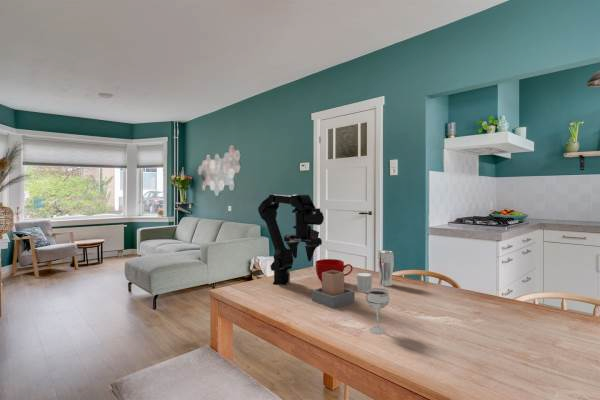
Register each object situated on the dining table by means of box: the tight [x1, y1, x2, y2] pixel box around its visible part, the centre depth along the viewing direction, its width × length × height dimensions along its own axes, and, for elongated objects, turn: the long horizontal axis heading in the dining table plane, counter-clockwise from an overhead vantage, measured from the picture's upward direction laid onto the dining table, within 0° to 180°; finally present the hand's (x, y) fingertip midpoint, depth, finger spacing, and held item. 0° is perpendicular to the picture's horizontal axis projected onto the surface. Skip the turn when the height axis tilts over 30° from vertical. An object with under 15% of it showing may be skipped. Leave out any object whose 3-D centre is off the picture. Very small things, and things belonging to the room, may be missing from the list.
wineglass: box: [365, 287, 390, 335], centre depth 101 cm, size 7×7×12 cm
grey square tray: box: [311, 287, 356, 309], centre depth 128 cm, size 12×12×4 cm
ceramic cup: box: [315, 258, 354, 283], centre depth 152 cm, size 13×17×10 cm
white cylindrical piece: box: [355, 272, 373, 294], centre depth 141 cm, size 7×7×7 cm
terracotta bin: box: [321, 270, 345, 296], centre depth 128 cm, size 6×6×10 cm
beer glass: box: [377, 249, 395, 288], centre depth 150 cm, size 7×7×15 cm
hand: (302, 259), depth 143 cm, fingers open, 9 cm apart
